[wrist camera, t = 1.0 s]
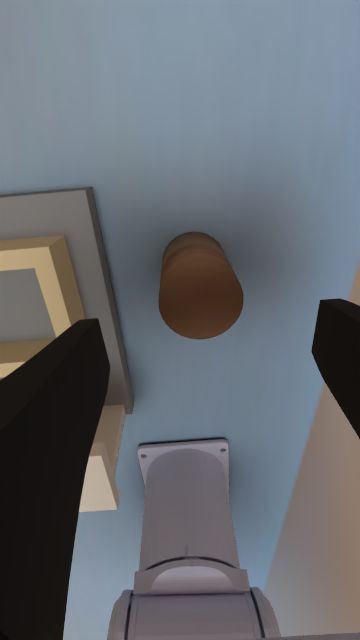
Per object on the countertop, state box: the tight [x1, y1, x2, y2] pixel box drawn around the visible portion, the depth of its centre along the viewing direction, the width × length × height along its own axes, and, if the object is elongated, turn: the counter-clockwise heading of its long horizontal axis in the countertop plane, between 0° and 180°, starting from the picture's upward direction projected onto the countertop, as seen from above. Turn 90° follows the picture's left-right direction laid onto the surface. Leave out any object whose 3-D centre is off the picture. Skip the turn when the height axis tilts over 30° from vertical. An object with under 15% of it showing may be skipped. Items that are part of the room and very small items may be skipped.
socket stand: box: [0, 187, 134, 512], centre depth 18 cm, size 16×11×9 cm
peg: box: [159, 232, 243, 339], centre depth 17 cm, size 4×4×6 cm
